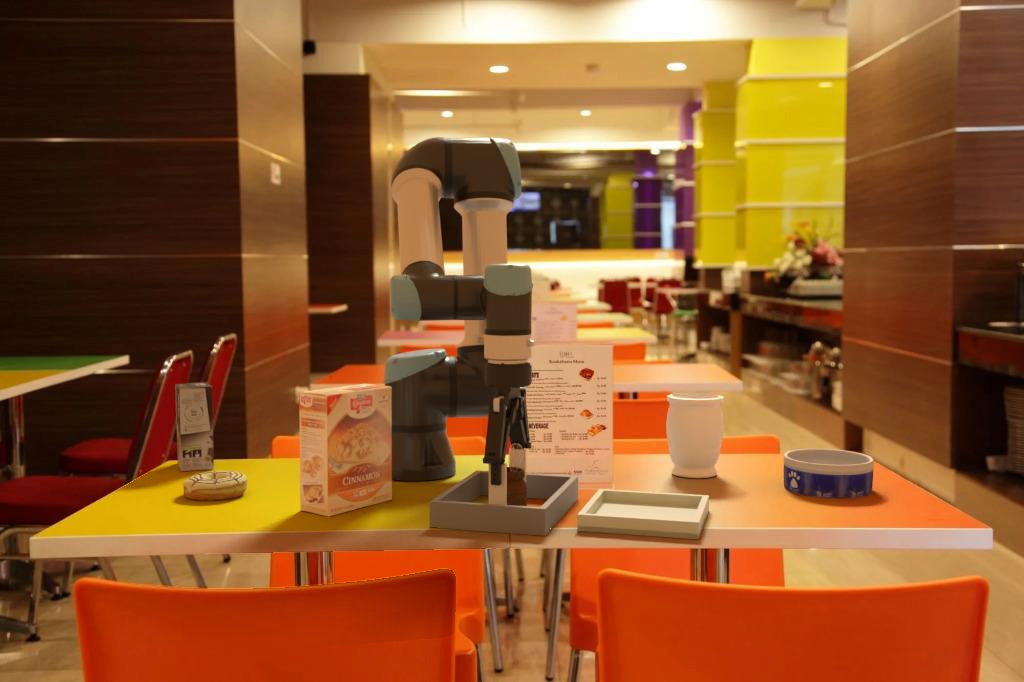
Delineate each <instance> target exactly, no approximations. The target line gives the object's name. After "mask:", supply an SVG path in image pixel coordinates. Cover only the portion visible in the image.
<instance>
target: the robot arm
mask: <svg viewBox="0 0 1024 682" xmlns="http://www.w3.org/2000/svg"><path fill="white" fill-rule="evenodd" d="M520 163H521V162H520V158H519V154H518V151H517V149H516V146H515V144H514V143H513V142H512V140H509V139H506V138H495V137H491V136H488V137H444V136H443V137H442V136H438V137H437V136H436V137H430V138H426V139H424V140H421V141H420V142H417V143H416V144H415V145H412V147H410V148H409V149H408V150H407V151H406V152H405V153H404V154H403V155H402V156H401V158H400V159H399V160H398V162H397V163H396V166H394V170H393V172H392V176H391V181H390V182H391V183H390V184H391V185H390V188H391V190H390V191H391V196H392V199H393V201H394V202H395V203H396V205H397V221H398V223H397V224H398V225H397V226H398V243H399V244H398V247H399V265H400V267H399V268H400V274H398V275H396V274H395V275H393V276H391V278H390V279H389V280H390V281H389V301H390V303H389V304H390V305H389V307H390V308H389V309H390V310H389V311H390V315H391V317H392V318H393V319H395V320H397V321H400V320H401V321H413V322H422V321H423V322H426V321H428V322H429V321H431V322H432V321H433V322H434V321H464V322H463V323H464V337H463V339H462V340H461V342H460V343H459V344H458V345H457V346H456V355H451V356H448V353H447V351H446V349H445V348H438V347H437V348H427V349H419V350H418V349H417V350H412V351H405V352H401V353H397V354H395V355H391V356H390V357H389V358H387V360H386V361H385V363H384V374H383V375H384V377H383V378H384V379H383V381H382V383H383V384H384V386H390V387H392V399H391V400H392V481H403V482H404V481H407V482H409V481H410V482H411V481H412V482H414V481H415V482H417V481H418V482H419V481H432V480H440V479H445V478H448V477H451V476H454V475H455V474H456V473H457V466H456V465H457V464H456V463H457V462H456V458H455V455H454V451H453V448H452V446H451V442H450V439H449V437H448V434H447V419H448V418H449V419H450V418H488V419H487V428H486V439H485V446H484V456H483V458H482V464H486V465H487V464H488V471H489V495H488V504H500V505H507V467H509V466H510V467H511V465H512V467H518V466H520V467H518V468H522V469H524V472H525V477H524V478H523V479H524V480H525V482H526V473H527V449H529V450H530V449H532V442H530V441H531V437H530V429H529V427H530V426H529V418H528V407H527V390H526V387H529V386H531V384H532V383H533V379H532V378H533V377H532V375H533V373H532V371H533V370H532V369H533V365H532V364H531V362H530V361H529V360H530V359H531V358H532V348H533V347H534V346H535V345H536V343H535V340H532V332H533V331H532V312H533V311H532V308H533V307H532V306H533V305H532V303H533V302H532V301H533V296H532V295H533V289H534V288H533V287H534V284H533V281H532V280H533V279H532V268H531V267H530V265H528V264H527V263H526V264H525V263H508V237H507V236H508V235H507V234H508V232H507V215H508V214H509V213H510V212H511V210H512V209H513V208H514V207H515V206H514V205H515V204H514V203H515V202H514V201H515V200H517V199H519V198H520V197H521V195H522V169H521V164H520ZM442 198H443V199H453V208H454V210H455V211H457V213H458V214H460V216H461V217H462V218H461V221H462V225H461V226H462V227H461V228H462V269H463V270H462V272H463V274H459V275H458V274H457V275H456V274H446V273H445V260H444V259H445V258H444V252H443V251H444V249H443V240H442V239H443V238H442V237H443V236H442V227H441V217H440V216H441V215H440V208H439V202H440V200H441V199H442ZM520 387H525V388H520ZM508 442H509V443H510V446H511V447H510V448H511V449H509V448H508V444H509V443H508ZM514 443H518V444H520V445H518V444H515V445H516V446H515V445H514ZM512 444H513V445H514V446H513V445H512ZM517 445H518V450H517ZM519 446H520V447H519ZM521 446H522V447H521ZM512 448H513V449H512ZM521 448H523V449H521ZM507 449H508V453H509V454H510V457H509V456H508V461H510V463H508V462H507V463H508V464H507V463H505V462H506V455H507ZM514 450H515V452H514ZM519 452H520V456H519ZM521 453H523V456H521ZM511 454H512V456H511ZM516 458H517V460H516ZM513 459H514V464H513ZM518 461H519V462H518ZM520 461H522V462H520ZM519 464H520V465H519ZM515 465H516V466H515Z"/></svg>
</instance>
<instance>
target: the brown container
mask: <svg viewBox="0 0 1024 682" xmlns="http://www.w3.org/2000/svg"><path fill="white" fill-rule="evenodd" d="M515 444H518V443H514V445H515ZM512 445H513V444H512ZM514 445H513V446H514ZM518 445H520V444H518ZM518 445H517V450H518ZM515 446H516V445H515ZM519 447H520V446H519ZM521 447H522V446H521ZM509 449H514V448H512V447H511V445H510V446H509V448H508V450H509ZM521 449H523V448H521ZM514 452H515V450H514ZM511 456H512V454H511ZM519 456H520V452H519ZM521 456H523V453H521ZM509 457H510V454H509V452H508V458H509ZM516 460H517V458H516ZM507 461H508V462H507V463H508V464H509V463H510V461H509V460H507ZM518 462H519V461H518ZM520 462H522V461H520ZM513 464H514V459H513ZM519 465H520V464H519ZM515 466H516V465H515ZM518 467H520V466H518ZM518 467H512V465H511V467H510V466H509V465H508V466H507V505H516V506H528V498H527V485H526V482H525V480H524V479H523V478H524V477H525V472H524V469H522V468H518Z"/></svg>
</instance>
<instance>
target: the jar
mask: <svg viewBox="0 0 1024 682" xmlns="http://www.w3.org/2000/svg"><path fill="white" fill-rule="evenodd" d="M724 398H725V397H724V396H723V395H719V394H715V393H714V394H713V393H707V392H706V393H705V392H679V393H678V392H676V393H671V394H668V395H666V400H667V403H669V405H668V406H669V407H668V410H667V416H666V425H665V428H666V430H665V431H666V432H665V433H666V437H667V438H666V440H667V444H668V454H669V456H670V458H671V462H672V464H673V468H671V471H670V472H671V474H673V475H674V476H677V477H679V478H685V479H686V478H687V479H707V478H713V477H715V476H717V475H718V471H717V469H716V468H715V465H716V464H717V462H718V461H719V457H720V454H721V449H722V448H721V447H722V442H723V439H724V438H723V437H724V424H725V423H724V415H723V410H722V407H721V406H722V404H723V403H724V401H725V400H724Z"/></svg>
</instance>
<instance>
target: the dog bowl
mask: <svg viewBox="0 0 1024 682" xmlns="http://www.w3.org/2000/svg"><path fill="white" fill-rule="evenodd" d="M874 463H875V462H874V458H873V457H871V456H870V455H867V454H864V453H861V452H858V451H857V452H856V451H851V450H850V451H849V450H843V449H833V448H801V449H800V448H799V449H793V450H788V451H786V452H785V453H784V455H783V487H784V489H785V490H786V491H789V492H791V493H794V494H797V495H802V496H807V497H813V498H824V499H855V498H863V497H867V496H870V495H871V494H872V492H873V486H874V484H873V483H874V482H873V481H874V466H875V464H874Z"/></svg>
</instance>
